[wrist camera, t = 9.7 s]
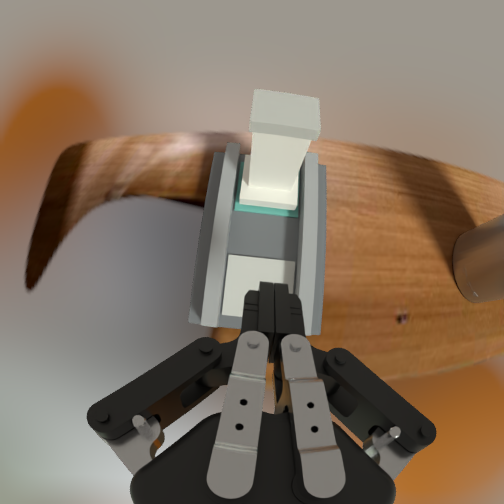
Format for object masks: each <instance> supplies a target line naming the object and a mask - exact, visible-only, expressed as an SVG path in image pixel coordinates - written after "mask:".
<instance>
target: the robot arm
mask: <svg viewBox="0 0 504 504" xmlns="http://www.w3.org/2000/svg"><path fill="white" fill-rule="evenodd" d="M453 270H454V275H455V279H456V282H457V285H458V287H459V289H460V291H461V293H462V294H463V295H464V297H465V298H466V299H468V300H469V301H471V302H473V303H481V302H487V301H493V300H500V299H504V214H502V215H500V216H498V217H496V218H494V219H492V220H490V221H488V222H486V223H484V224H482V225H480V226H478V227H476V228H473V229H471V230H469V231H467V232H465V233H463V234H462V235H461V236H460V237H459V238H458V240H457V241H456V244H455V247H454V252H453ZM268 358H269V363H274V370H273V374H272V381H273V393H274V404H275V411H274V414H269V413H266V412H263V411H262V408H263V399H264V391H265V383H266V379H265V374H266V365H267V362H268ZM222 385H228V386H227V391H226V395H225V399H224V404H223V409H222V412H220V413H216V414H213V415H211V416H208V417H207V418H205V419H203V420H202V421H201V422H199V423H198V424H197V425H196V426H195V427H194V428H192V429H191V430H190V431H189V432H187V433H186V434H185V435H184V436H182V437H181V438H180V439H179V440H178V441H176V442H175V443H174V444H172V445H171V446H170V447H168V448H167V449H166V450H165V451H163V452H162V453H161V454H159V455H158V456H157V457H155V454H156V452H157V450H158V449H159V448H160V447H161V446H162V444H163V443H164V440H165V436H164V432H163V429H165V428H166V427H168V426H169V425H170V424H172V423H173V422H175V421H176V420H177V419H179V418H180V417H181V416H183V415H184V414H186V413H187V412H188V411H190V410H191V409H192V408H194V407H195V406H196V405H198V404H199V403H200V402H201V401H203V400H204V399H205V398H207V397H208V396H209V395H210V394H212V393H213V392H214V391H215V390H217V389H218V388H219V387H220V386H222ZM330 412H331V413H332V414H333V415H335V416H336V417H337V418H338V419H339V420H340V421H341V422H342V423H343V424H344V425H345V426H346V427H347V428H348V429H349V430H350V431H351V432H353V433H354V434H355V435H356V436H357V437H358V438H359V439H360V440H361V441H362V442H363V449H362V448H361V447H360V446H359V445H358V444H356V443H355V442H354V441H353V440H352V439H351V438H350V437H349V436H348V435H347V433H346V432H345V431H344V430H342V429H341V427H340V426H338V425H337V424H336V423H335V422H333V421H332V420H331V415H330ZM87 421H88V424H89V425H90V426H91V428H93V430H94V431H95V432H96V433H97V435H98V436H99V437H100V438H101V439H102V440H104V441H105V442H106V443H107V444H108V445H109V446H110V447H111V448H112V449H113V451H114V452H115V453H116V455H117V456H118V457H119V459H120V460H121V461H122V462H123V464H124V465H125V466H126V467H127V468H128V470H129V471H130V472H131V473H132V474H133V476H134V477H133V478H132V481H131V485H130V494H131V498H132V500H133V503H134V504H393V503H394V500H395V496H396V487H395V484H394V481H393V480H394V479H395V478H396V477H397V476H398V474H399V473H400V472H401V471H402V470H403V469H404V467H405V466H406V465H407V463H408V462H409V461H410V460H411V458H412V457H413V456H414V455H415V454H416V453H417V452H419V451H420V450H422V449H424V448H425V447H427V446H428V445H430V444H431V443H432V442H433V441H434V440H435V437H436V428H435V426H434V424H433V423H432V422H431V421H430V420H429V419H427V418H426V417H425V416H424V415H423V414H421V413H420V412H419V411H418V410H417V409H416V408H414V407H413V406H412V405H411V404H410V403H408V402H407V401H406V400H405V399H404V398H403V397H401V396H400V395H399V394H398V393H397V392H395V391H394V390H393V389H392V388H391V387H390V386H388V385H387V384H386V383H385V382H384V381H383V380H381V379H380V378H379V377H378V376H377V375H376V374H374V373H373V372H372V371H371V370H370V369H369V368H368V367H366V366H365V365H364V364H363V363H362V362H361V361H359V360H358V359H357V358H356V357H355V356H354V355H352V354H351V353H350V352H349V351H347V350H346V349H343V348H333V349H331V350H330V351H329V352H325V351H322V350H319V349H316V348H314V347H313V346H311V345H310V343H309V341H308V340H307V339H306V335H305V327H304V318H303V311H302V303H301V300H300V298H299V297H298V295H297V294H289V289H288V284H284V283H273V282H263V281H260V283H259V290H258V291H257V290H249V291H248V292H247V293H246V295H245V296H244V306H243V315H242V325H241V333H240V335H239V336H238V337H237V338H236V339H235V340H233V341H231V342H228V343H221V344H220V343H219V342H218V341H217V340H215V339H213V338H209V337H203V338H199V339H197V340H195V341H194V342H192V343H191V344H189V345H188V346H186V347H185V348H183V349H182V350H180V351H178V352H177V353H175V354H174V355H172V356H171V357H169V358H168V359H166V360H165V361H163V362H161V363H160V364H158V365H157V366H155V367H154V368H152V369H151V370H149V371H147V372H146V373H144V374H143V375H141V376H139V377H138V378H136V379H135V380H133V381H131V382H130V383H128V384H127V385H125V386H123V387H122V388H120V389H119V390H117V391H115V392H113V393H112V394H110V395H108V396H107V397H105V398H103V399H102V400H100V401H98V402H97V403H95V404H93V405H92V406H91V407H90V408H89V410H88V412H87Z"/></svg>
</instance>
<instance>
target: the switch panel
mask: <svg viewBox="0 0 504 504" xmlns="http://www.w3.org/2000/svg"><path fill="white" fill-rule="evenodd" d="M244 161H245V154H240V143H229V142H227V146H226V152H225V153H223V152H214V157H213V162H212V167H211V173H210V178H209V183H208V189H207V194H206V200H205V206H204V212H203V218H202V224H201V230H200V237H199V243H198V250H197V257H196V264H195V271H194V279H193V286H192V294H191V302H190V310H189V320H188V322H189V323H196V324H201V325H203V326H210V327H227V328H236V329H241V325H242V315H243V306H244V296H245V295H246V293H247V292H248V291H249V290H257V291H258V290H259V283H260V281H263V282H273V283H284V284H288V289H289V294H297V295H298V297H299V298H300V300H301V303H302V311H303V318H304V327H305V335H310V336H311V335H320V331H321V319H322V307H323V292H324V275H325V253H326V166H325V165H320V164H318V154H316V153H310V152H306V155H305V157H304V160H303V162H302V165H301V167H300V170H299V172H298V198H297V207H296V209H295V211H294V210H286V209H278V208H270V207H261V206H252V205H243V204H240V191H241V184H242V176H243V169H244Z"/></svg>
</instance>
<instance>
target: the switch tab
mask: <svg viewBox="0 0 504 504" xmlns="http://www.w3.org/2000/svg"><path fill="white" fill-rule="evenodd" d="M249 132H253V135H252V147H251V155H246V154H245V161H244V169H243V176H242V184H241V191H240V204H243V205H252V206H261V207H270V208H278V209H286V210H294V211H295V209H296V207H297V198H298V172H299V170H300V167H301V165H302V162H303V160H304V157H305V155H306V152H307V150H308V147H309V145H310V142H311V140H313V141H317V139H318V137H319V134H320V132H321V126H320V107H319V99H318V98H314V97H309V96H303V95H297V94H290V93H284V92H276V91H268V90H259V89H255V90H254V96H253V103H252V109H251V117H250V126H249Z"/></svg>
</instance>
